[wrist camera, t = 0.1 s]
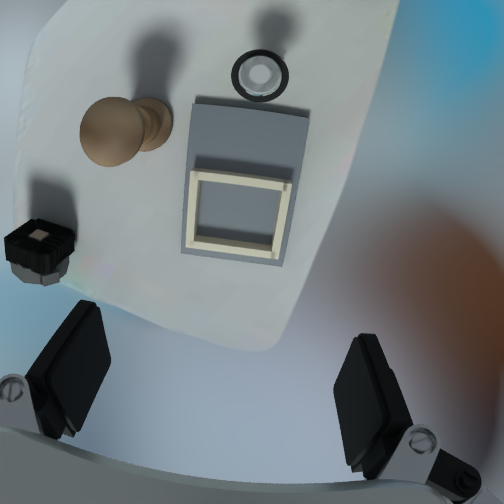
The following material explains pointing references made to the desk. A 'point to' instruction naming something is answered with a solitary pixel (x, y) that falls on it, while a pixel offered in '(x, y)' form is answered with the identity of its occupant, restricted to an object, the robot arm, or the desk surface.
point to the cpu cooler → (39, 251)
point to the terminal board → (241, 183)
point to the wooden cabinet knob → (123, 129)
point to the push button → (259, 75)
